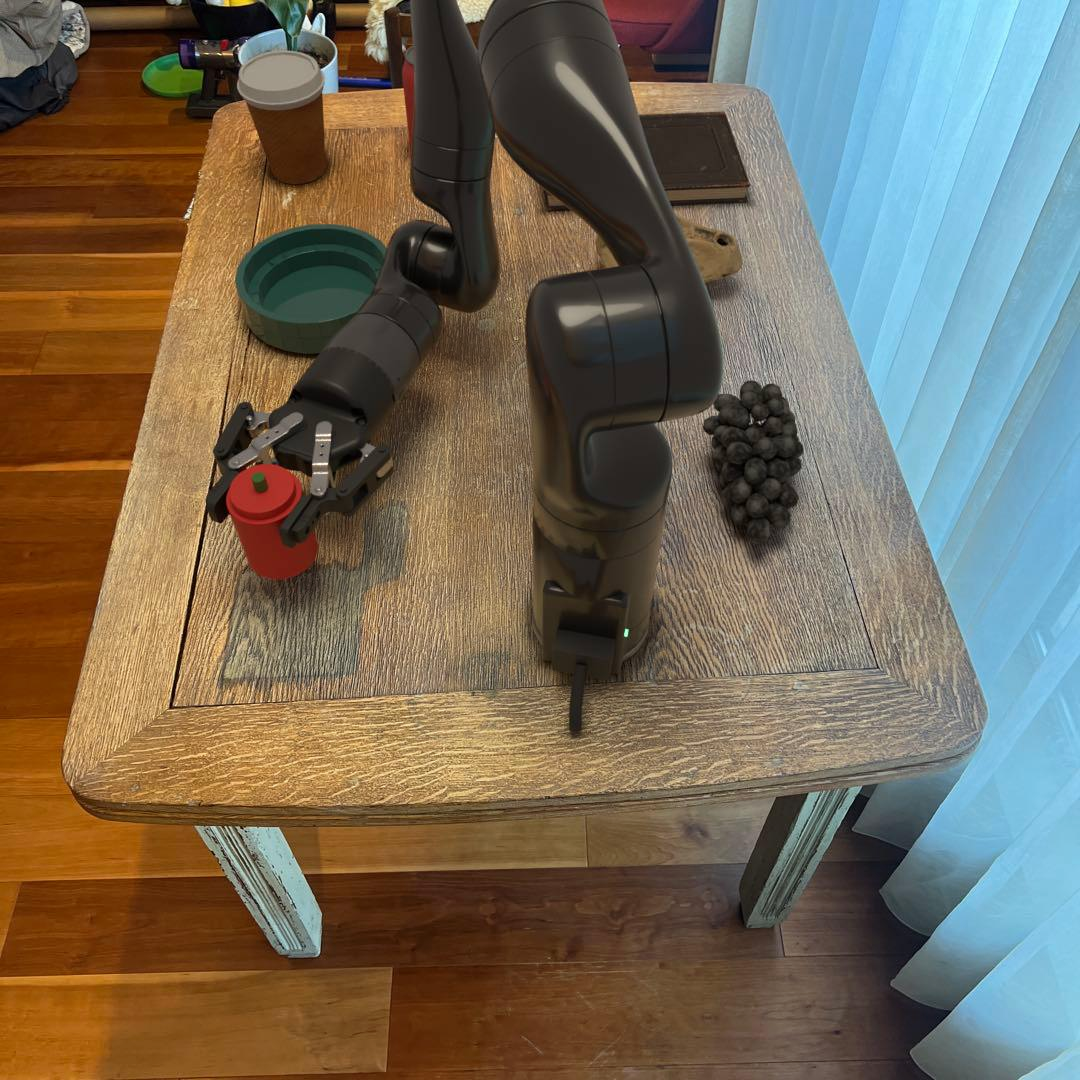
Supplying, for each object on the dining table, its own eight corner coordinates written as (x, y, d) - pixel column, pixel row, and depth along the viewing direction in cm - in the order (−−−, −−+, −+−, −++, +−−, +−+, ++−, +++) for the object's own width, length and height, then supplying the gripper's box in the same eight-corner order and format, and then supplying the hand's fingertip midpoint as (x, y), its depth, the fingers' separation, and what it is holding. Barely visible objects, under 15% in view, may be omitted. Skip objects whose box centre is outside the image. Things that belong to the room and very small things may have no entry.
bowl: (371, 368, 100) (365, 333, 96) (221, 345, 102) (210, 310, 98) (416, 270, 109) (412, 234, 105) (278, 250, 111) (269, 215, 107)
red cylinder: (303, 585, 79) (280, 512, 72) (236, 573, 80) (206, 499, 73) (328, 530, 83) (307, 455, 76) (263, 519, 84) (236, 443, 76)
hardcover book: (747, 202, 117) (750, 184, 115) (546, 211, 115) (546, 193, 114) (721, 126, 126) (724, 108, 124) (536, 133, 125) (536, 116, 123)
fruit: (801, 494, 78) (792, 357, 87) (694, 508, 81) (696, 373, 89) (814, 559, 85) (805, 425, 93) (715, 569, 87) (714, 438, 96)
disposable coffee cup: (327, 196, 117) (308, 96, 108) (247, 188, 118) (221, 89, 108) (349, 150, 123) (333, 52, 113) (273, 143, 124) (251, 45, 114)
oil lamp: (742, 311, 105) (756, 246, 99) (597, 313, 105) (601, 248, 98) (728, 246, 112) (740, 181, 105) (591, 247, 111) (595, 182, 105)
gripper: (273, 324, 84) (151, 466, 74) (431, 369, 80) (325, 524, 71) (291, 390, 89) (180, 530, 80) (439, 435, 86) (342, 587, 77)
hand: (249, 527), depth 75 cm, fingers closed on red cylinder, 5 cm apart
